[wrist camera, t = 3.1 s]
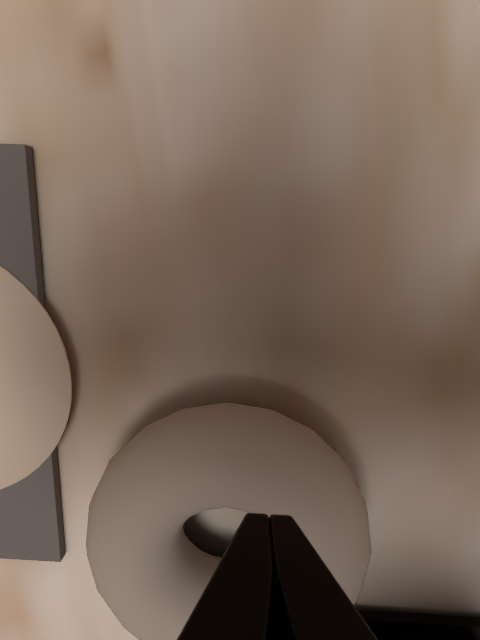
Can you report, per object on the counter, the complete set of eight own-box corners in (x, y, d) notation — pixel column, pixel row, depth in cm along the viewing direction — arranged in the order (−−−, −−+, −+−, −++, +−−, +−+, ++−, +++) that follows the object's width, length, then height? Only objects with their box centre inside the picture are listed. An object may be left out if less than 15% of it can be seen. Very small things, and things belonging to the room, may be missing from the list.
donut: (59, 473, 15) (206, 639, 16) (1, 540, 12) (193, 743, 13) (260, 335, 13) (404, 532, 15) (262, 366, 10) (448, 618, 11)
